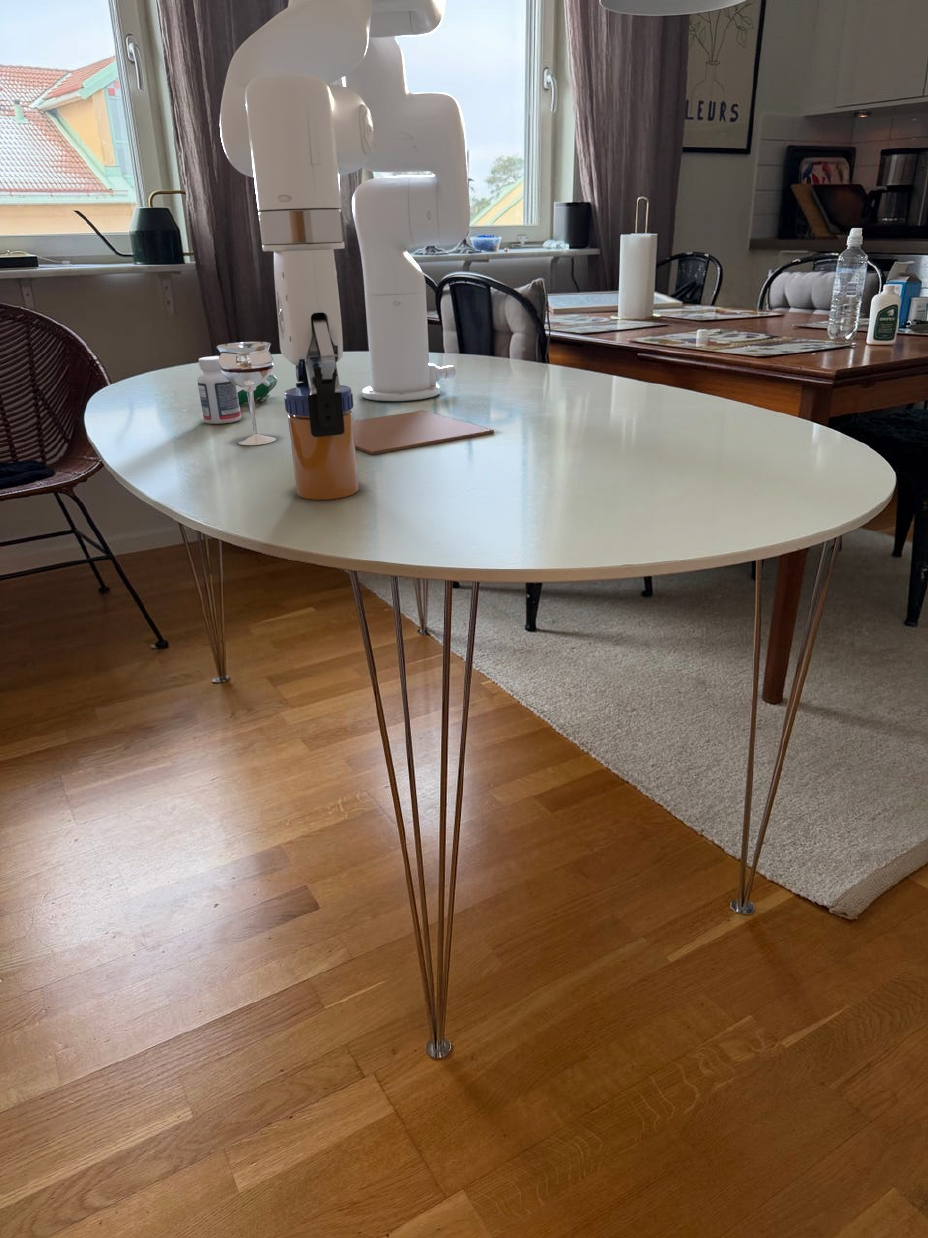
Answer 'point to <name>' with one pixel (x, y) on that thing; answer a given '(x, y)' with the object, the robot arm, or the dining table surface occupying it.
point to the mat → (410, 431)
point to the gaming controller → (259, 391)
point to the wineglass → (247, 375)
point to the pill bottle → (217, 393)
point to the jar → (323, 460)
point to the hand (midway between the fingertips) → (321, 426)
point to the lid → (299, 403)
